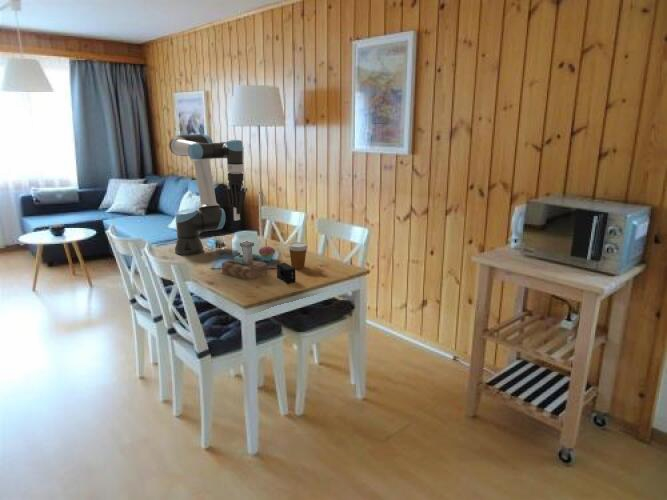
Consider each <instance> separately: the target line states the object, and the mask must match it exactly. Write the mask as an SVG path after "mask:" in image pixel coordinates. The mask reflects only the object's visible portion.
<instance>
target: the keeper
mask: <svg viewBox="0 0 667 500" xmlns="http://www.w3.org/2000/svg"><path fill="white" fill-rule="evenodd" d="M233 259H234V262H237V263H240V264H243V255H240V254H238V255H236V256H234V257H233Z"/></svg>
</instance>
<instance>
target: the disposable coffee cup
mask: <svg viewBox="0 0 667 500" xmlns="http://www.w3.org/2000/svg"><path fill="white" fill-rule="evenodd" d="M307 249H308V246H307V243H305V242H292V243H289V245H288V250H289V257H290V266H292V267H294V268H295V270H303V269H304V268H305V263H306V256H307Z"/></svg>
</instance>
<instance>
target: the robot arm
mask: <svg viewBox="0 0 667 500" xmlns="http://www.w3.org/2000/svg"><path fill="white" fill-rule="evenodd" d="M168 147H169V150H170V152H171V154H173V155H176V156H180V157H189V158H190V159H189V160H190V161H192V162H193V165H194V166H193V167H194V171H195V177H196V183H197V188H198V189H197V190H198V195H199V199H200V200H199V201H200V205H199V207H198V209H197V208H186V209H181V210H179V211H177V212H176V213H175V224H176V225H175V226H176V227H175V228H176V242H175V243H176V244H175V247H174V253H175V254H177V255H180V256H181V255H182V256H189V255H190V256H191V255H192V256H193V255H198V254H201V253H203V252H204V246H203V242H202V240H201V238H200V233H203V232H208V231H217V230H222V229H223V228H224V227H225V223H226V212H225V210H224V208H221V206H220V204H219V203H218V202H217V199H216V197H217V196H216V192H215V185H214V181H213V173H212V168H211V164H210V163H211V160H212V159H214V160H215V159H226V165H227V172H228V173H227V180H228V184H227V185H225V186H224V188H225V191H226V196H227V199H228V204H229V205H228V206H231V207H232V213H233V221H241V214H242V213H241V208H242V207H244V205H245V199H246V193H247V191H248V188H247V187H245V186H244V183H243V181H244V178H245V177H244V173H243V172H244V147H243V141H242V140H240V139H227V140H226V141H222V142H221V141H220V142H213V140H212V138H211V137H210V135H207V134H179V135H176V136H174V137H172V138H171V139H170V140H169V143H168Z"/></svg>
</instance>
